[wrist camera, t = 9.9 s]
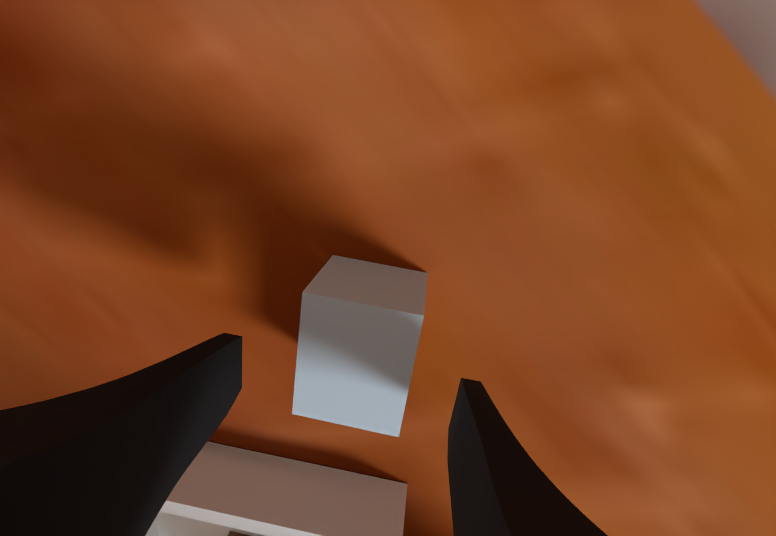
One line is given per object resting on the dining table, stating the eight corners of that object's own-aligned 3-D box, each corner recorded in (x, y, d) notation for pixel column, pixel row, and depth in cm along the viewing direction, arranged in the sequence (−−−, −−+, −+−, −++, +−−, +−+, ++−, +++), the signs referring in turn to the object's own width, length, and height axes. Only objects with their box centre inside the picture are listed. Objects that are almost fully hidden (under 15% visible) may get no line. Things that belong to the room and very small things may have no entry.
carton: (428, 271, 16) (423, 315, 13) (407, 372, 18) (398, 437, 14) (333, 254, 17) (302, 292, 13) (322, 355, 18) (292, 413, 15)
